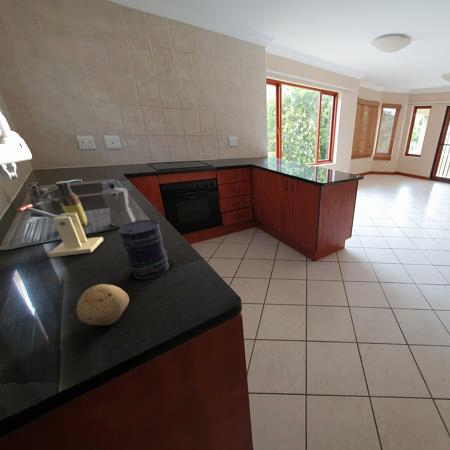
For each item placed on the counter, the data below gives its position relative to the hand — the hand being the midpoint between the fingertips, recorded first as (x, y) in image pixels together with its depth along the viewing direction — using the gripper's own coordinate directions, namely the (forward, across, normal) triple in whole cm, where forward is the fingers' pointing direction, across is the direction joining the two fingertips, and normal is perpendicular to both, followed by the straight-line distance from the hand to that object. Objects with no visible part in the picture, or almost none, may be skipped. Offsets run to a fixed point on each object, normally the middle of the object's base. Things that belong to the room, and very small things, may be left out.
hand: (11, 178), depth 73 cm
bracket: (+26, 0, +9) cm, 28 cm away
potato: (+26, +44, +34) cm, 62 cm away
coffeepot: (+26, -24, +16) cm, 39 cm away
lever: (+14, 0, +4) cm, 14 cm away
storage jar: (+26, +23, +38) cm, 52 cm away
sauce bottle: (+26, -24, -1) cm, 36 cm away
